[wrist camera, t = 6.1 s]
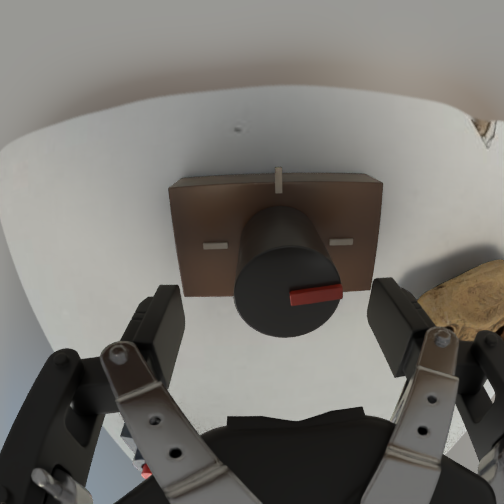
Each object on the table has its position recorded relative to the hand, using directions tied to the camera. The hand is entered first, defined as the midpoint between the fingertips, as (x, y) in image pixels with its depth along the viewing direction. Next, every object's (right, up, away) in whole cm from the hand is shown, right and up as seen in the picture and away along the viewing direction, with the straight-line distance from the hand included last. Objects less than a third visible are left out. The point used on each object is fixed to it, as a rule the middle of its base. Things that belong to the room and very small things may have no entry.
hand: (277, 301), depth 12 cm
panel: (+1, +4, +8) cm, 9 cm away
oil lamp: (+18, -2, +10) cm, 21 cm away
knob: (0, +2, +5) cm, 5 cm away
